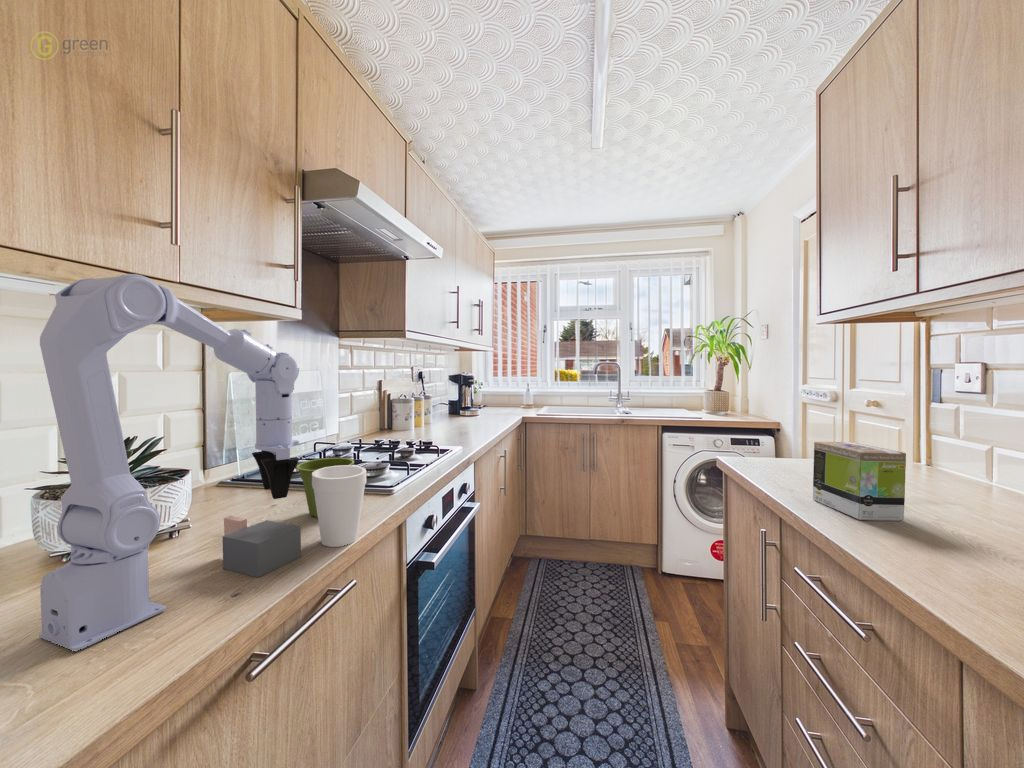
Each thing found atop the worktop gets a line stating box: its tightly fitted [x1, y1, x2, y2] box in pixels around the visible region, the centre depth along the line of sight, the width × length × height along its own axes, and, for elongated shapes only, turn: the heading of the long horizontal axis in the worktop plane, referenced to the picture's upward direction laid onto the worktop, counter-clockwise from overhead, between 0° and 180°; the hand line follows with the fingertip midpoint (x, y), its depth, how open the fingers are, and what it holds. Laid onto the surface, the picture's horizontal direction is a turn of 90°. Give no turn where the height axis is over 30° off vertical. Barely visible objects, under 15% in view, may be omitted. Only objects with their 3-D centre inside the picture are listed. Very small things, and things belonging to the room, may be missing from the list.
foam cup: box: [312, 465, 367, 548], centre depth 81 cm, size 10×9×13 cm
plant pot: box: [296, 457, 355, 519], centre depth 97 cm, size 12×12×11 cm
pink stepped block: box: [223, 515, 248, 536], centre depth 73 cm, size 4×10×5 cm, turn 69°
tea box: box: [812, 441, 907, 522], centre depth 99 cm, size 15×10×15 cm
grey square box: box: [222, 519, 302, 578], centre depth 72 cm, size 8×8×5 cm
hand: (275, 493), depth 79 cm, fingers open, 7 cm apart
